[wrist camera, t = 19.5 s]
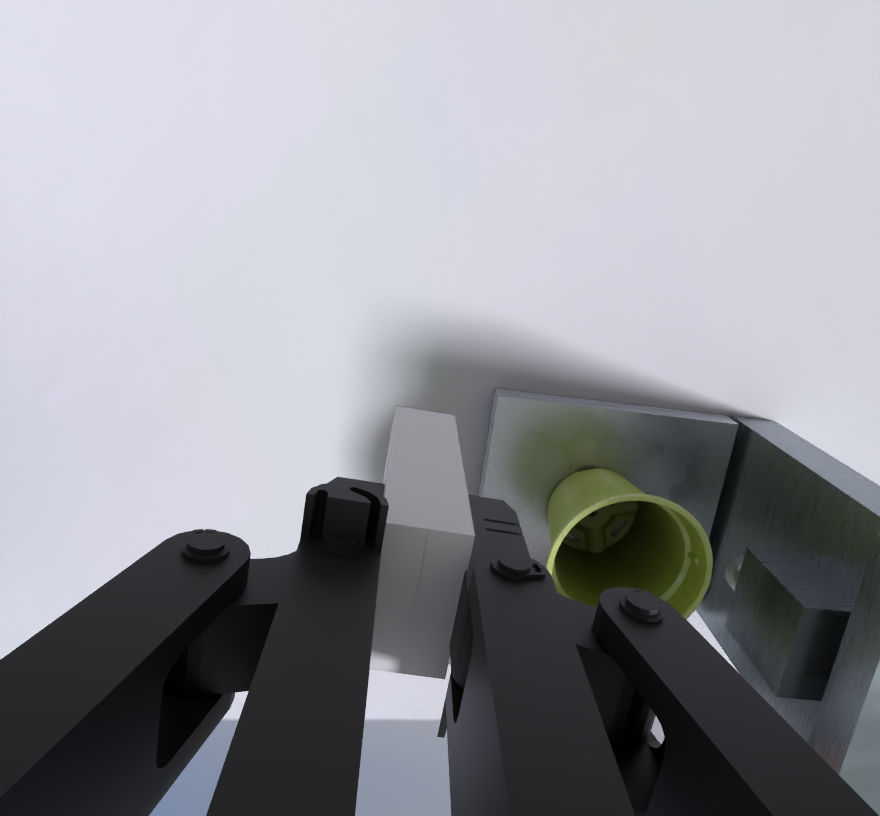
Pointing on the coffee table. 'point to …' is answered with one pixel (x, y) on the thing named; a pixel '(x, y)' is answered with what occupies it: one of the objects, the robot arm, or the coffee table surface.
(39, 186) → the coffee table surface
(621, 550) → the plant pot
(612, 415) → the frame
